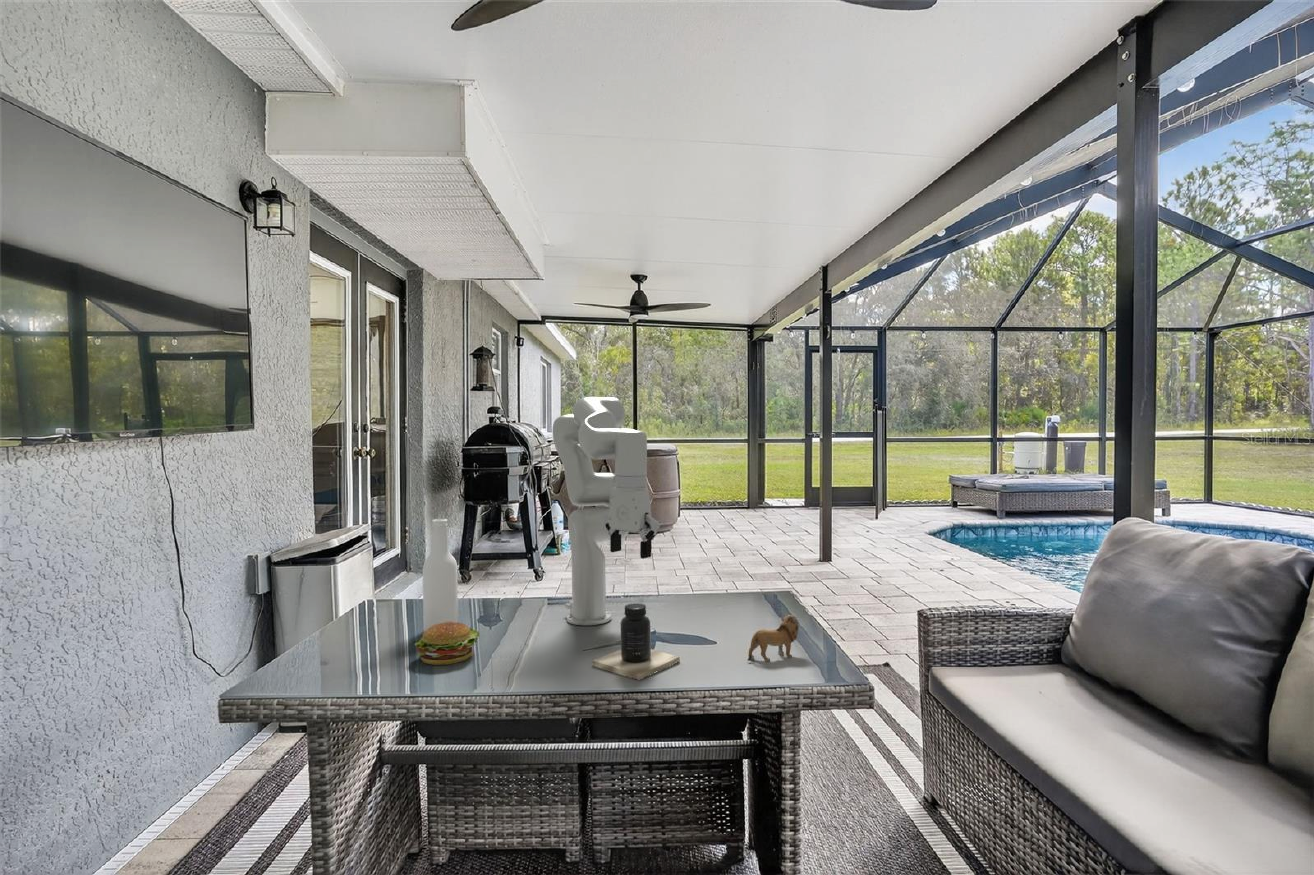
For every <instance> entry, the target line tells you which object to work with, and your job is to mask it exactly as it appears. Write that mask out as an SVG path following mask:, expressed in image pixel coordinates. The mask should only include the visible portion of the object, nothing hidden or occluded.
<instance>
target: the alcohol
mask: <svg viewBox="0 0 1314 875" xmlns="http://www.w3.org/2000/svg"><path fill="white" fill-rule="evenodd" d="M431 522H432V524H431V527H432V528H431V529H432V530H431V544H430V552H429V555H428V557H426V558H425V560H424V562H423V566H422V607H423V608H422V609H423V610H422V611H423V612H422V613H423V615H422V616H423V619H422V620H423V621H422V622H423V631H424V632H425V631H426V630H427V629H428V628H430V627H431V626H433V625H436V624H440V623H444V622H459V613H458V612H459V610H458V609H459V606H458V605H459V603H458V602H459V600H458V599H459V598H458V592H459V591H458V563H457V560H456V559H455V557H454V556H453V555H452V553H451V550H450V544H449V543H450V542H449V534H448V532H449V531H448V525H449V524H448V519H447V518H435V519H432V520H431Z"/></svg>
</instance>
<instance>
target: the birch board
mask: <svg viewBox="0 0 1314 875" xmlns="http://www.w3.org/2000/svg"><path fill="white" fill-rule="evenodd" d="M676 662H679V663H680V656H679V655H675V654H670V653H666V652H664V651H663V652H662V651H659V650H656V649H652V648H651V657H650V659H649V660H647V661H645V662H642V663H629V662H625V661H624V660H623V659H622V657H621V649H619V650H616V651H615V652H614V651H613V652H611V653H609V654H606V655H604V656H602V657H598V658H596V659H594V660H592V667H595V668H598V669H601V670H604V671H607V672H610V673H614V674H617V675H620V676H623V677H626V676H628V677H627V678H629V677H631V678H630V679H632V678H634V679H633V680H635V679H637V680H636V681H641V680H643V679H642V678H644V677H646V676H648V677H650V676H651V675H650V674H652V675H654V674H653V673H654V672H656V671H659V672H661V671H663V670H662V669H664V668H666V667H668V668H670V667H671V666H670V665H672V664H674V663H676ZM669 666H670V667H669ZM672 666H673V665H672ZM666 669H667V668H666ZM660 670H661V671H660ZM664 670H665V669H664ZM649 675H650V676H649ZM646 678H647V677H646ZM640 679H641V680H640ZM644 679H645V678H644Z"/></svg>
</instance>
